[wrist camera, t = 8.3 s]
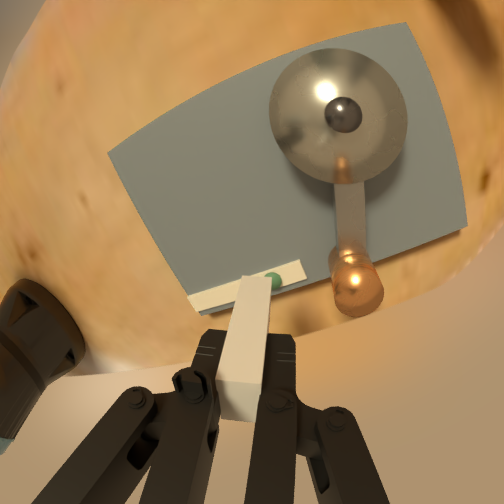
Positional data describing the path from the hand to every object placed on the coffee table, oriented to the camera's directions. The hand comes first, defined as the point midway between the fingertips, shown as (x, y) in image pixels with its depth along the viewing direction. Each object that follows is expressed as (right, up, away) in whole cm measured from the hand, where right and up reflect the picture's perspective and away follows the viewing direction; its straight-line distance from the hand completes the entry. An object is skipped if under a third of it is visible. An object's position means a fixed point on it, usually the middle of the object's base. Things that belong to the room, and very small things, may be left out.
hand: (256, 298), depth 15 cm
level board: (+3, +8, +5) cm, 10 cm away
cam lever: (+6, +8, +3) cm, 10 cm away
